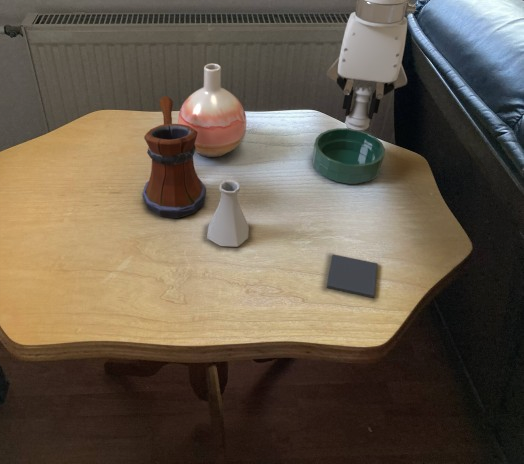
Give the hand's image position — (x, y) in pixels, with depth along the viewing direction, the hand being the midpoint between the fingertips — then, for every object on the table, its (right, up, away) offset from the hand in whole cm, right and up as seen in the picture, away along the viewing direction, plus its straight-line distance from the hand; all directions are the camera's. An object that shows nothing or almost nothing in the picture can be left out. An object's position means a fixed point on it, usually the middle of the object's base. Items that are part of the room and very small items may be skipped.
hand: (359, 113), depth 93 cm
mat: (-5, -29, -14) cm, 32 cm away
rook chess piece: (0, -2, +2) cm, 3 cm away
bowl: (0, -8, +8) cm, 12 cm away
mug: (-34, -14, +2) cm, 37 cm away
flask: (-24, -22, -7) cm, 33 cm away
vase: (-27, -5, +12) cm, 30 cm away
